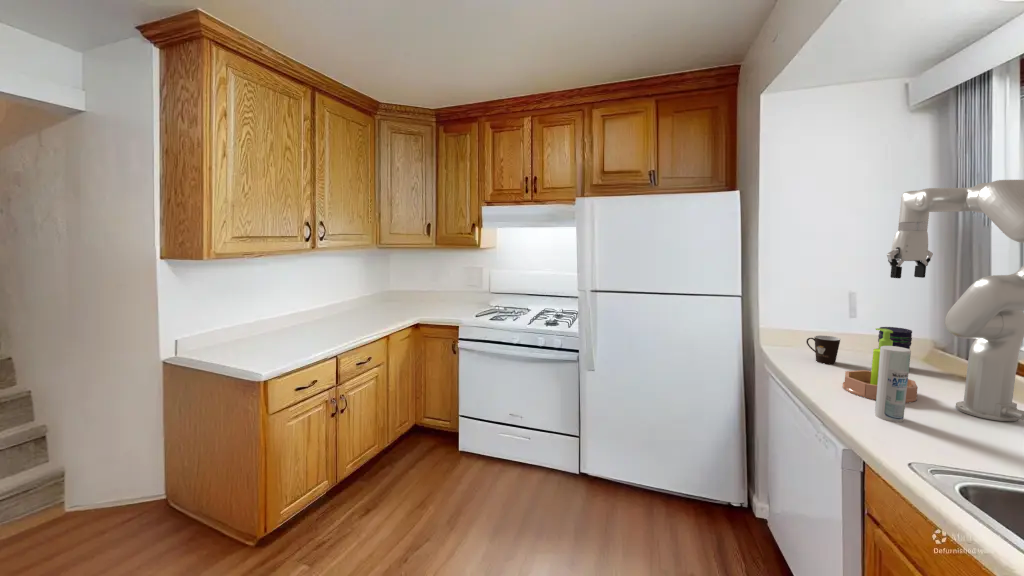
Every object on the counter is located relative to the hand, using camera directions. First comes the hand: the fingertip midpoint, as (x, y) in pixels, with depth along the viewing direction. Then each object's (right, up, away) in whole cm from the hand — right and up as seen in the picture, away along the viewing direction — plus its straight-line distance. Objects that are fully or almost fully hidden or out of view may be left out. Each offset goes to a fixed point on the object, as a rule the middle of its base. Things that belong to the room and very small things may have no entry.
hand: (907, 277), depth 156 cm
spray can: (-30, -41, -28) cm, 57 cm away
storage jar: (+11, -35, +19) cm, 41 cm away
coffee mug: (-10, -34, +28) cm, 45 cm away
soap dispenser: (-16, -37, -8) cm, 41 cm away
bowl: (-17, -38, -8) cm, 42 cm away
